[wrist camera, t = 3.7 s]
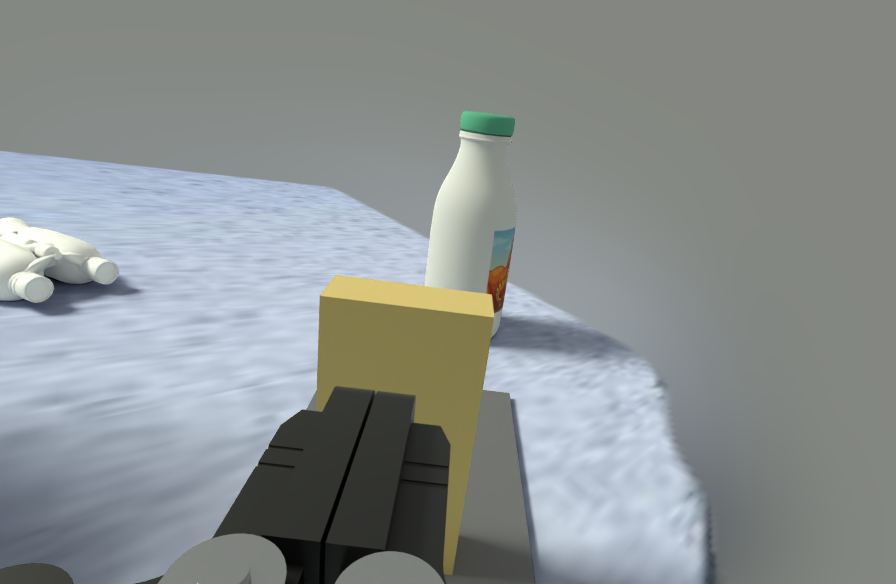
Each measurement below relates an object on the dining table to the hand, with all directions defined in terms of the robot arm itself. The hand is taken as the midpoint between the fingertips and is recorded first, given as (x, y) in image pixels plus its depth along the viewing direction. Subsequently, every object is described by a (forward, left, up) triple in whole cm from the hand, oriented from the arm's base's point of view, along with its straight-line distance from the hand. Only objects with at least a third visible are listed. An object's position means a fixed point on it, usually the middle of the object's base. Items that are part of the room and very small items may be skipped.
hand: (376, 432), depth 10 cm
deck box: (-8, +6, -14) cm, 18 cm away
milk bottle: (-27, +26, -15) cm, 41 cm away
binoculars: (-53, -7, -15) cm, 56 cm away
